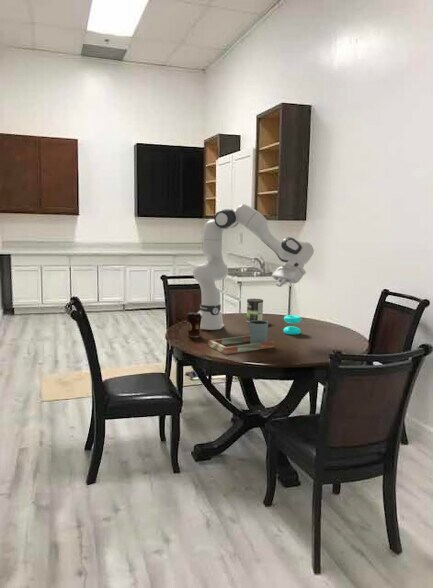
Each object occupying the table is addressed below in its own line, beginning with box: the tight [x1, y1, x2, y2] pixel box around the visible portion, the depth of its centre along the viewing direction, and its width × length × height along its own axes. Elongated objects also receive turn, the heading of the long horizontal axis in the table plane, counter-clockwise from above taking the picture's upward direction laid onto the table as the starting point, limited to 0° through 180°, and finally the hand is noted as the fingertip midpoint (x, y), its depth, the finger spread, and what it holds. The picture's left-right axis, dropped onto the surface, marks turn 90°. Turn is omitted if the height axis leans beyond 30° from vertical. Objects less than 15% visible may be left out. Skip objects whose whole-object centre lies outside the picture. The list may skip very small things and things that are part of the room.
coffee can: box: [246, 298, 264, 323], centre depth 312 cm, size 10×10×14 cm
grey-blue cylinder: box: [248, 319, 269, 344], centre depth 255 cm, size 10×10×12 cm
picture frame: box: [207, 334, 275, 355], centre depth 251 cm, size 17×29×3 cm, turn 120°
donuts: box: [283, 314, 302, 336], centre depth 281 cm, size 10×10×10 cm
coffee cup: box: [185, 311, 202, 338], centre depth 271 cm, size 9×8×13 cm
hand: (278, 285), depth 265 cm, fingers closed
